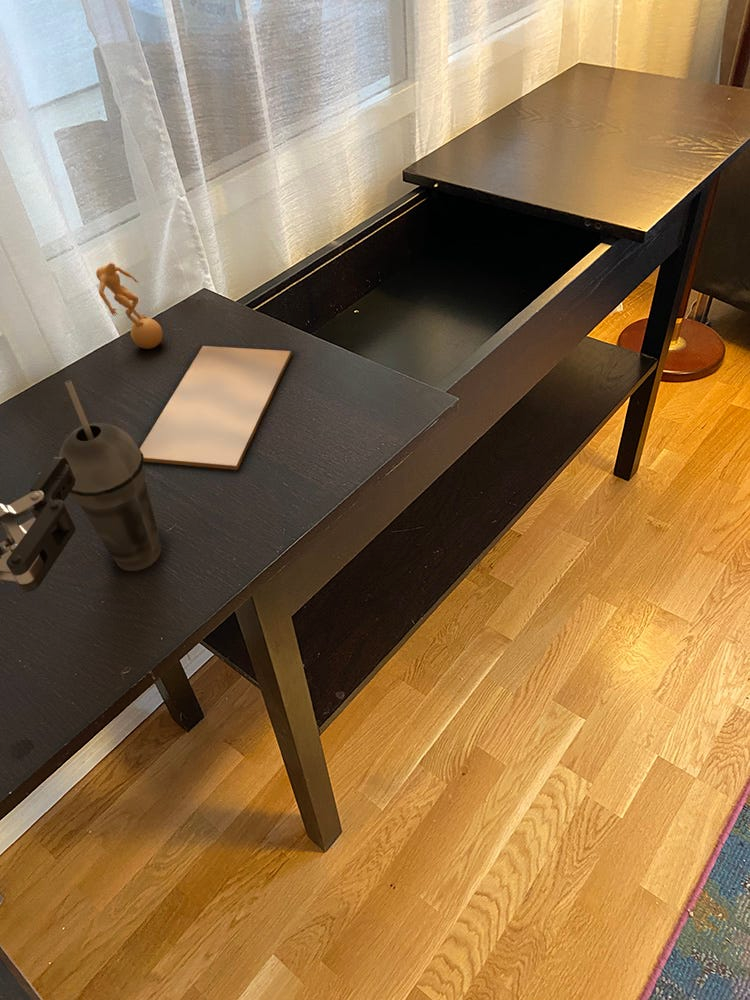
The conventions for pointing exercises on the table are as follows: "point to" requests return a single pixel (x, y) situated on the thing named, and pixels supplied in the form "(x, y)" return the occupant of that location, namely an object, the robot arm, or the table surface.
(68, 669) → the table surface
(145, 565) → the beverage cup
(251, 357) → the tan rectangular board
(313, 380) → the table surface
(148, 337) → the figurine
